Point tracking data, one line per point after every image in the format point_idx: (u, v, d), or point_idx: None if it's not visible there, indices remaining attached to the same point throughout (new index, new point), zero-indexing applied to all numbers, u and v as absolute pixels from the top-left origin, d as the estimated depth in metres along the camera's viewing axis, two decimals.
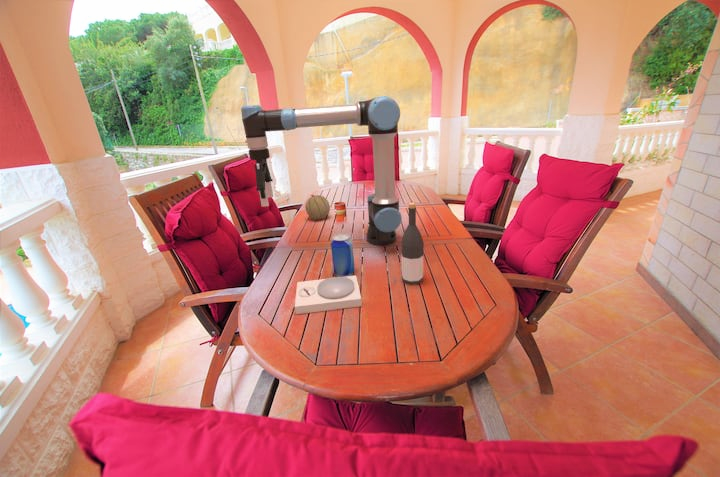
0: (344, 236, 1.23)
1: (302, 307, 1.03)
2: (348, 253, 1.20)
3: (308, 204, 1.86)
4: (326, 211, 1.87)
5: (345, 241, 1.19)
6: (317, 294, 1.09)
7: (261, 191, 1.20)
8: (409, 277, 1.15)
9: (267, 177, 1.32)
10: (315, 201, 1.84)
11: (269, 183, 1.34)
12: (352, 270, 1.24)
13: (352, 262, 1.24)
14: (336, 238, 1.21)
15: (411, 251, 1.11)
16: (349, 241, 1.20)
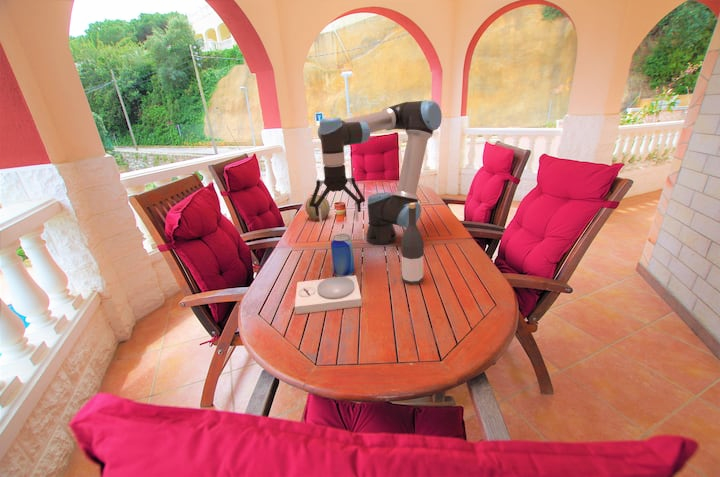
0: (344, 236, 1.23)
1: (302, 307, 1.03)
2: (348, 253, 1.20)
3: (308, 204, 1.86)
4: (326, 211, 1.87)
5: (345, 241, 1.19)
6: (317, 294, 1.09)
7: (315, 207, 1.16)
8: (409, 277, 1.15)
9: (352, 198, 1.16)
10: (315, 201, 1.84)
11: (355, 205, 1.17)
12: (352, 270, 1.24)
13: (352, 262, 1.24)
14: (336, 238, 1.21)
15: (411, 251, 1.11)
16: (349, 241, 1.20)
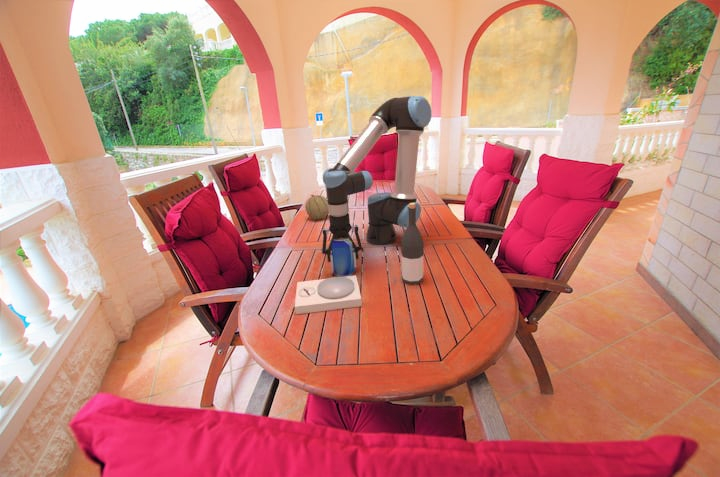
0: None
1: (302, 307, 1.03)
2: (348, 253, 1.20)
3: (308, 204, 1.86)
4: (326, 211, 1.87)
5: (345, 241, 1.19)
6: (317, 294, 1.09)
7: (327, 254, 1.24)
8: (409, 277, 1.15)
9: None
10: (315, 201, 1.84)
11: (353, 253, 1.24)
12: (352, 270, 1.24)
13: (352, 262, 1.24)
14: (336, 238, 1.21)
15: (411, 251, 1.11)
16: (349, 241, 1.20)
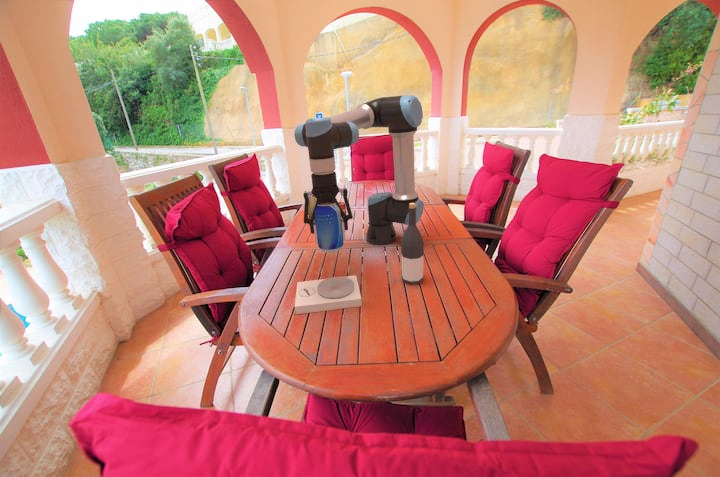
0: None
1: (302, 307, 1.03)
2: (335, 221, 0.98)
3: None
4: None
5: (331, 206, 0.97)
6: (317, 294, 1.09)
7: (309, 224, 1.02)
8: (409, 277, 1.15)
9: None
10: (315, 201, 1.84)
11: None
12: (340, 243, 1.02)
13: (340, 234, 1.01)
14: (320, 203, 0.99)
15: (411, 251, 1.11)
16: (336, 207, 0.98)
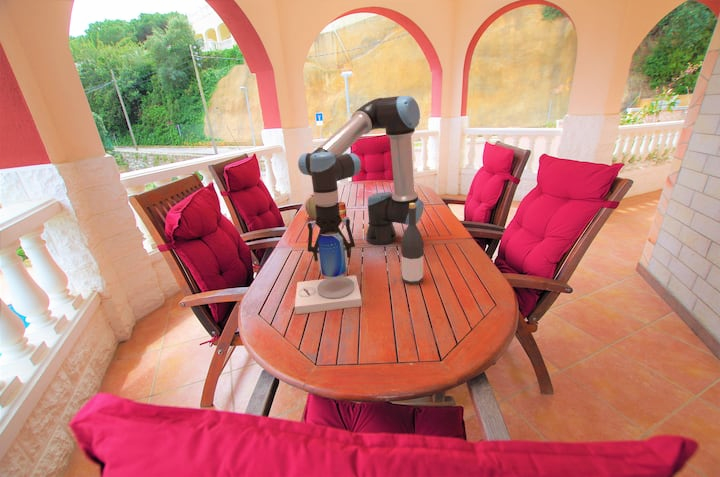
0: None
1: (302, 307, 1.03)
2: (338, 250, 1.02)
3: (308, 204, 1.86)
4: None
5: (334, 236, 1.01)
6: (317, 294, 1.09)
7: None
8: (409, 277, 1.15)
9: None
10: None
11: (344, 250, 1.05)
12: (343, 270, 1.06)
13: (343, 261, 1.05)
14: (324, 233, 1.03)
15: (411, 251, 1.11)
16: (339, 236, 1.02)
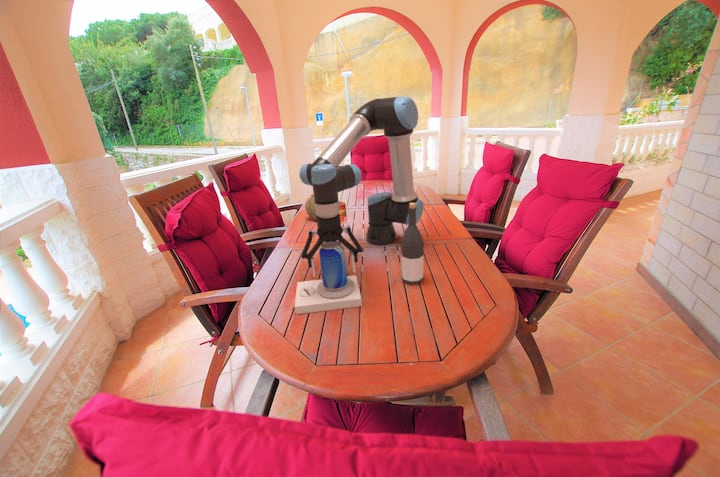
0: (335, 243, 1.06)
1: (302, 307, 1.03)
2: (339, 262, 1.04)
3: (308, 204, 1.86)
4: None
5: (335, 249, 1.02)
6: (317, 294, 1.09)
7: None
8: (409, 277, 1.15)
9: None
10: None
11: (351, 255, 1.06)
12: (344, 282, 1.08)
13: (344, 273, 1.07)
14: (325, 246, 1.05)
15: (412, 251, 1.11)
16: (340, 249, 1.04)
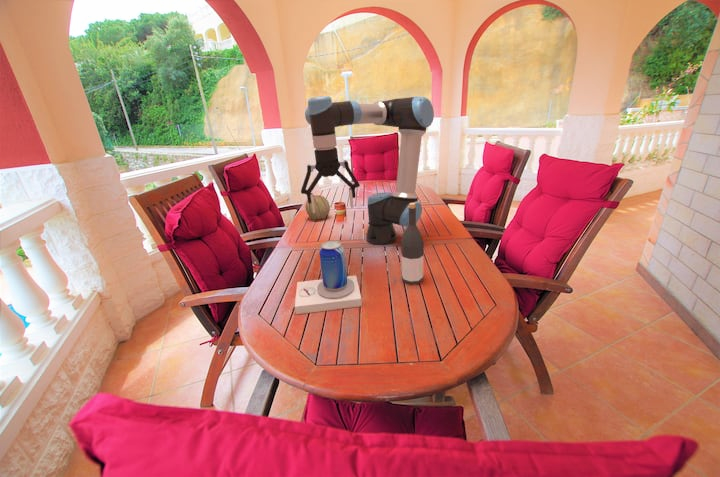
0: (335, 243, 1.06)
1: (302, 307, 1.03)
2: (339, 263, 1.04)
3: (308, 204, 1.86)
4: (326, 211, 1.87)
5: (336, 249, 1.02)
6: (317, 294, 1.09)
7: None
8: (409, 277, 1.15)
9: (346, 183, 1.09)
10: (315, 201, 1.84)
11: (349, 191, 1.10)
12: (344, 282, 1.08)
13: (344, 273, 1.07)
14: (325, 246, 1.04)
15: (411, 251, 1.11)
16: (340, 249, 1.04)
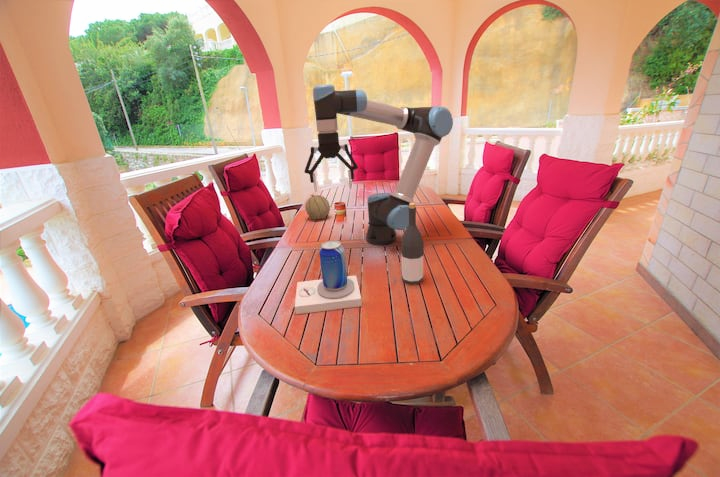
0: (335, 243, 1.06)
1: (302, 307, 1.03)
2: (339, 263, 1.04)
3: (308, 204, 1.86)
4: (326, 211, 1.87)
5: (336, 249, 1.02)
6: (317, 294, 1.09)
7: (309, 174, 1.20)
8: (409, 277, 1.15)
9: None
10: (315, 201, 1.84)
11: (348, 172, 1.21)
12: (344, 282, 1.08)
13: (344, 273, 1.07)
14: (325, 246, 1.05)
15: (411, 251, 1.11)
16: (340, 249, 1.04)
